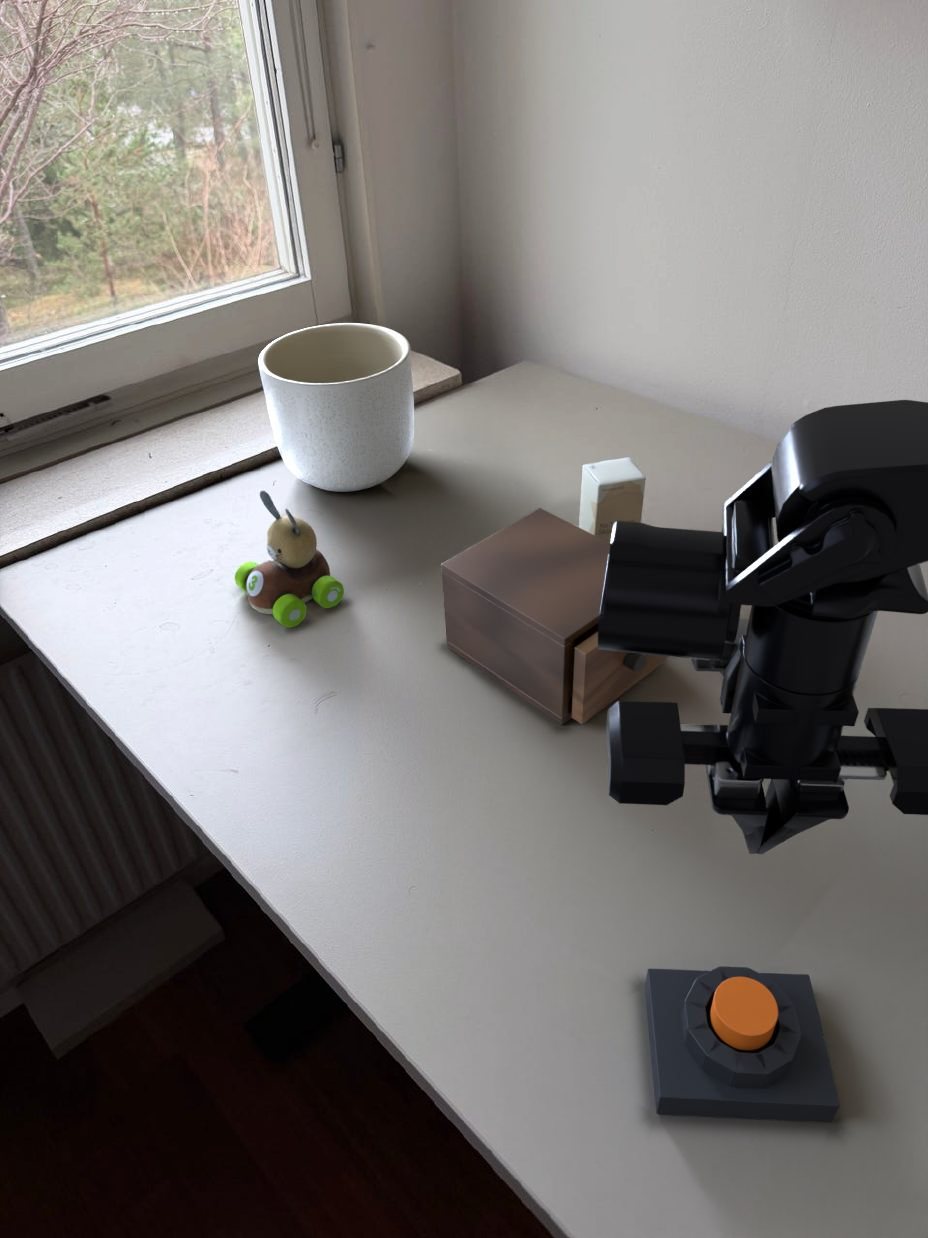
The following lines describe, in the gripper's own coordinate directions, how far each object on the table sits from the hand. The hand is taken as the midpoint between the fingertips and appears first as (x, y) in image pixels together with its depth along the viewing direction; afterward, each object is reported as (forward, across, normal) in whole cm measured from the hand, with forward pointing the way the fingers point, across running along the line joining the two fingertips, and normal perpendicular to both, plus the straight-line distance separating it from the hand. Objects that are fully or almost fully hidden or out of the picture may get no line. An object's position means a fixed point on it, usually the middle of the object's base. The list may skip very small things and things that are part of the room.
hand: (754, 847), depth 57 cm
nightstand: (+9, +13, -29) cm, 33 cm away
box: (+10, +7, -43) cm, 44 cm away
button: (+6, +1, +8) cm, 10 cm away
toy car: (+10, +39, -36) cm, 54 cm away
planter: (+10, +37, -61) cm, 72 cm away
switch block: (+9, +1, +8) cm, 12 cm away
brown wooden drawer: (+9, +11, -27) cm, 30 cm away
